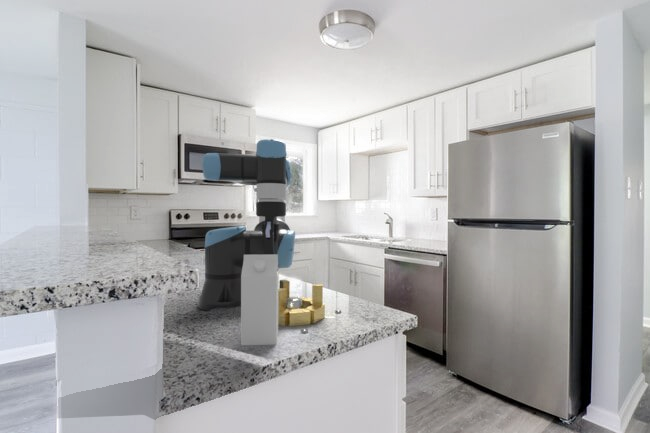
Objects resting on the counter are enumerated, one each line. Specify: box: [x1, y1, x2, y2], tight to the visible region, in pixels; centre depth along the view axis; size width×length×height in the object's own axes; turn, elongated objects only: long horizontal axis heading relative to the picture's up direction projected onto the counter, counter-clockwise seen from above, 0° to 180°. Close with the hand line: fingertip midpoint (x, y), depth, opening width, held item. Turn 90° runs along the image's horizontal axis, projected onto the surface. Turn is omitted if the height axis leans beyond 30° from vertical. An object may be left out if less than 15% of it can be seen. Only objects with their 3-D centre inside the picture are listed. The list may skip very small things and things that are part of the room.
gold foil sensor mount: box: [278, 279, 326, 327], centre depth 88 cm, size 15×15×8 cm
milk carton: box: [240, 255, 280, 346], centre depth 72 cm, size 7×7×19 cm
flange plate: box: [286, 296, 342, 334], centre depth 88 cm, size 20×20×6 cm
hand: (270, 293), depth 88 cm, fingers closed
